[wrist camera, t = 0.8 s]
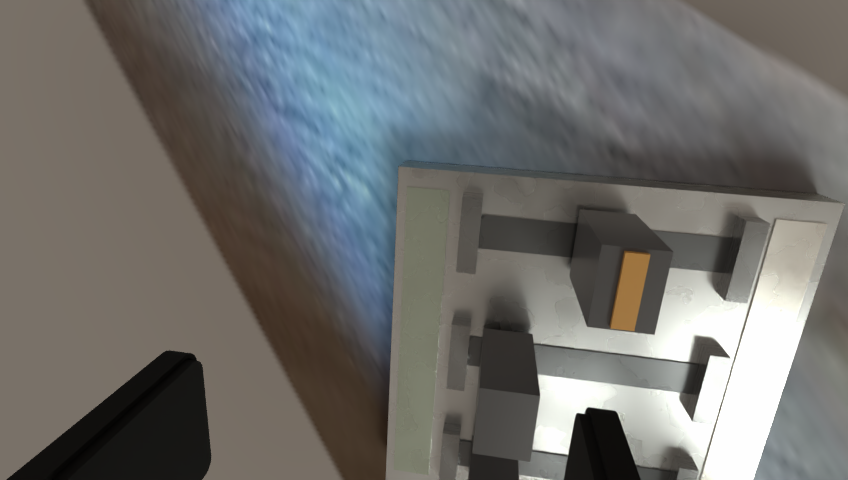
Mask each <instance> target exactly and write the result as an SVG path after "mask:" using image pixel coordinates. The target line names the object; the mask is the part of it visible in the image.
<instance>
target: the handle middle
mask: <svg viewBox="0 0 848 480" xmlns="http://www.w3.org/2000/svg"><path fill="white" fill-rule="evenodd" d="M539 402H540V389H539V381H538V373H537V365H536V357H535V349H534V342H533V334H528V333H520V332H511V331H503V330H495V329H486V328H484V329H483V338H482V348H481V357H480V366H479V376H478V386H477V399H476V413H475V426H474V439H473V452H472V453H473V454H480V455H487V456H493V457H500V458H507V459H513V460H520V461H526V462H530V460H531V454H532V447H533V441H534V434H535V428H536V421H537V415H538V408H539Z"/></svg>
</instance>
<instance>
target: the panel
mask: <svg viewBox="0 0 848 480" xmlns="http://www.w3.org/2000/svg"><path fill="white" fill-rule="evenodd" d="M844 205H845V203H842V202H839V201H836V200H834V199H831V198H828V197H825V196H823V195H820V194H812V193H799V192H787V191H775V190H762V189H750V188H738V187H726V186H713V185H701V184H689V183H676V182H664V181H652V180H640V179H627V178H615V177H603V176H590V175H578V174H566V173H553V172H541V171H529V170H517V169H504V168H492V167H480V166H467V165H455V164H443V163H431V162H418V161H404V162H403V163H402V164H401V165H400V166H399V169H398V193H397V217H396V242H395V266H394V290H393V315H392V339H391V363H390V388H389V412H388V436H387V461H386V480H468V470H469V461H470V451H471V442H472V435H473V436H474V426H475V413H476V399H477V386H478V376H479V366H480V357H481V348H482V338H483V329H484V328H486V329H495V330H503V331H511V332H520V333H528V334H533V342H534V349H535V357H536V365H537V373H538V381H539V389H540V402H539V408H538V415H537V421H536V428H535V434H534V441H533V447H532V454H531V460H530V462H526V461H520V460H518V468H519V480H564V475H565V469H566V464H567V458H568V453H569V447H570V442H571V437H572V431H573V426H574V420H575V416H576V414H577V413H582V414H585V411H586V409H587V408H588V407H592V408H599V409H606V410H614V411H616V412H617V414H618V416H619V419H620V422H621V424H622V427H623V430H624V433H625V436H626V439H627V442H628V444H629V447H630V450H631V453H632V456H633V459H634V461H635V464H636V467H637V470H638V473H639V476H640V479H641V480H753V478H754V475H755V472H756V469H757V466H758V463H759V460H760V457H761V454H762V451H763V448H764V445H765V442H766V439H767V436H768V433H769V430H770V427H771V424H772V421H773V418H774V415H775V412H776V409H777V406H778V403H779V400H780V397H781V394H782V391H783V388H784V385H785V382H786V379H787V376H788V373H789V370H790V367H791V364H792V361H793V358H794V355H795V352H796V349H797V346H798V343H799V340H800V337H801V334H802V331H803V328H804V325H805V322H806V319H807V316H808V313H809V310H810V307H811V304H812V301H813V298H814V295H815V292H816V289H817V286H818V283H819V280H820V277H821V274H822V271H823V268H824V265H825V262H826V259H827V256H828V253H829V250H830V247H831V244H832V241H833V238H834V235H835V232H836V229H837V226H838V223H839V220H840V217H841V214H842V211H843V208H844ZM580 209H583V210H595V211H606V212H617V213H628V214H636V215H637V216H638V217H639V218H640V219H641V220H642V221H643V222H644V223H645V224H646V225H647V226H648V227H649V228H650V229H651V230H652V231H653V232H654V233H655V234H656V235H657V236H658V237H659V238H660V239H661V240H662V241H663V242H664V243H665V244H666V245H667V246H668V247H669V248H670V249H671V250H672V251H673V256H672V261H671V265H670V269H669V274H668V278H667V283H666V287H665V291H664V296H663V300H662V304H661V309H660V313H659V318H658V322H657V326H656V331H655V335H652V334H643V333H635V332H626V331H618V330H609V329H600V328H592V327H587V325H586V322H585V320H584V317H583V314H582V311H581V308H580V305H579V302H578V300H577V297H576V294H575V291H574V288H573V285H572V282H571V280H570V277H569V275H570V268H571V262H572V256H573V250H574V244H575V237H576V231H577V225H578V219H579V213H580Z"/></svg>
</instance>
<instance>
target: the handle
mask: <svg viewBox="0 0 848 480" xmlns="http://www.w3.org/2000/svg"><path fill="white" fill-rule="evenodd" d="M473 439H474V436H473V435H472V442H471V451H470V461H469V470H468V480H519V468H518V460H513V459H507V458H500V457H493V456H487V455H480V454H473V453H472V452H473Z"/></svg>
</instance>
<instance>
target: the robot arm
mask: <svg viewBox="0 0 848 480" xmlns="http://www.w3.org/2000/svg"><path fill="white" fill-rule="evenodd" d="M210 463H211V449H210V439H209V429H208V418H207V410H206V398H205V388H204V378H203V367H202V364H201V362H199V361H197V360H196V357H195V355H193V354H191V353H184V352H176V351H165V352H164V353H162V354H161V355H160V356H158V357H157V358H156V359H155V360H153V361H152V362H151V363H150V364H149V365H147V366H146V367H145V368H144V369H142V370H141V371H140V372H139V373H137V374H136V375H135V376H134V377H132V378H131V379H130V380H129V381H128V382H126V383H125V384H124V385H123V386H121V387H120V388H119V389H118V390H116V391H115V392H114V393H113V394H111V395H110V396H109V397H108V398H107V399H105V400H104V401H103V402H102V403H101V404H99V405H98V406H97V407H95V408H94V409H93V410H92V411H91V412H89V413H88V414H87V415H86V416H84V417H83V418H82V419H81V420H80V421H78V422H77V423H76V424H75V425H73V426H72V427H71V428H70V429H68V430H67V431H66V432H65V433H63V434H62V435H61V436H60V437H59V438H57V439H56V440H55V441H54V442H52V443H51V444H50V445H49V446H47V447H46V448H45V449H44V450H43V451H41V452H40V453H39V454H38V455H36V456H35V457H34V458H33V459H31V460H30V461H29V462H28V463H26V464H25V465H24V466H23V467H22V468H21V469H19V470H18V471H17V472H15V473H14V474H13V475H12V476H10V477H9V478H8V479H7V480H202V479H203V478H204V476H205V475H206V473H207V471H208V469H209V466H210ZM564 480H641V479H640V476H639V473H638V470H637V467H636V464H635V461H634V459H633V456H632V453H631V450H630V447H629V444H628V442H627V439H626V436H625V433H624V430H623V427H622V424H621V422H620V419H619V416H618V414H617V412H616V411H614V410H606V409H599V408H592V407H588V408H587V409H586V411H585V414H582V413H577V414H576V416H575V420H574V426H573V431H572V437H571V442H570V447H569V453H568V458H567V464H566V469H565V475H564Z"/></svg>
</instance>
